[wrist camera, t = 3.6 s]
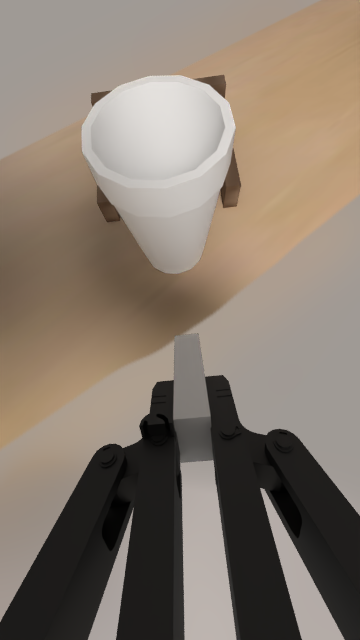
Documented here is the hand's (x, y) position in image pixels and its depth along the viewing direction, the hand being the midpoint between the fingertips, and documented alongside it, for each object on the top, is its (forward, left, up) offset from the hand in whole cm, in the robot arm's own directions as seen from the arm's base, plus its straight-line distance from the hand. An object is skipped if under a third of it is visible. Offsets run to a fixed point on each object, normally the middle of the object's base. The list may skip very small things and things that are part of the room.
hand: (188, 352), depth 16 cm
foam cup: (0, +13, -8) cm, 15 cm away
